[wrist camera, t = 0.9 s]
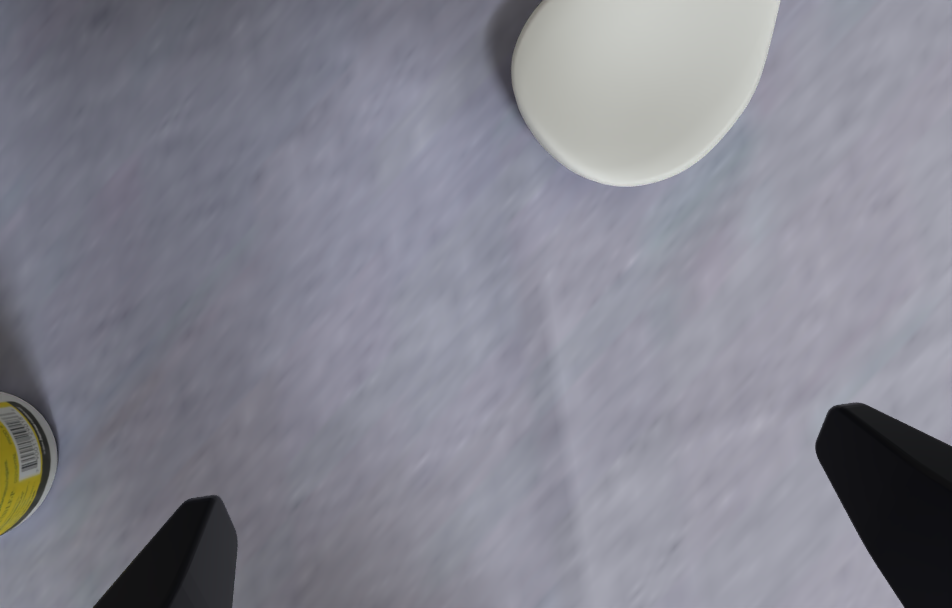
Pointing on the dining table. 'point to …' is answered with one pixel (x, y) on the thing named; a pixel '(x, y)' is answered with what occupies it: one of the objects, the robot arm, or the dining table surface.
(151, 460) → the dining table surface
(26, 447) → the supplement bottle
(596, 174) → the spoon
